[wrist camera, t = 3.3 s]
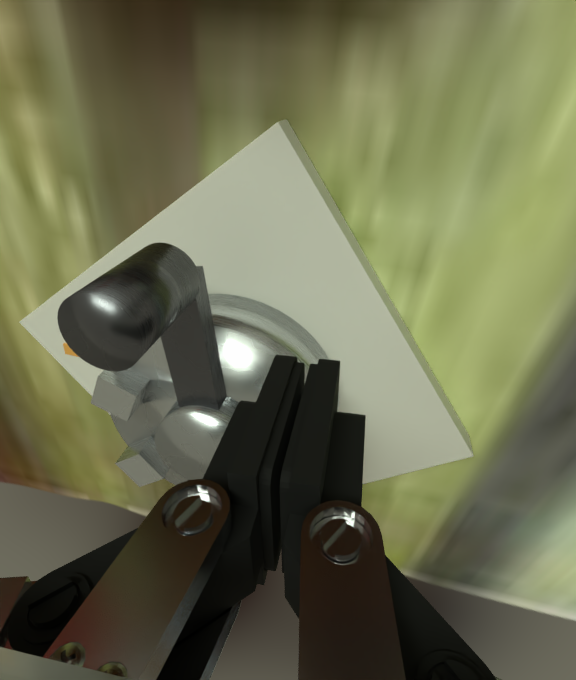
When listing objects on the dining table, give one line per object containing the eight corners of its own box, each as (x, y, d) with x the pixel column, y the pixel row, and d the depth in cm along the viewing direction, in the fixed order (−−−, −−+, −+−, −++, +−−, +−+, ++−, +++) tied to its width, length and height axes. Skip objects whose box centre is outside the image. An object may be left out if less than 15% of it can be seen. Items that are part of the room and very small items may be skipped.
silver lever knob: (339, 472, 23) (318, 627, 17) (163, 451, 26) (84, 579, 19) (339, 209, 16) (299, 300, 9) (89, 213, 18) (-87, 288, 11)
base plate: (286, 118, 16) (277, 121, 15) (469, 435, 22) (473, 457, 21) (38, 309, 24) (17, 323, 23) (222, 503, 30) (214, 522, 29)
